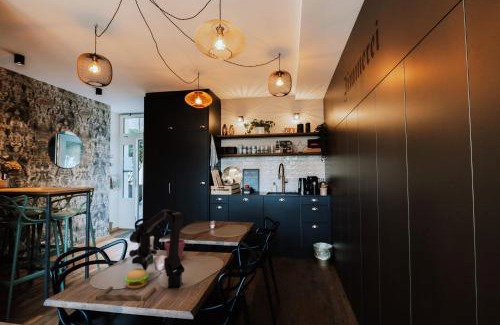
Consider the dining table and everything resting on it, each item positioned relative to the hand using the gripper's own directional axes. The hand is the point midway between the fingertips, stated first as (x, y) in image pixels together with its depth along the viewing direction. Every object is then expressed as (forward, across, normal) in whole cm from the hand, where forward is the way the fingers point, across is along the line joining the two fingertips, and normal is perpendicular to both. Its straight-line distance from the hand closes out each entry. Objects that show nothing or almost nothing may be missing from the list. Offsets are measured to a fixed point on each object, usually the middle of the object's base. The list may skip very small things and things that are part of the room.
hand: (145, 270), depth 150 cm
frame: (+4, +20, +1) cm, 21 cm away
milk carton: (+5, -25, -12) cm, 28 cm away
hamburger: (+5, +9, 0) cm, 10 cm away
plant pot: (+5, -34, +5) cm, 35 cm away
